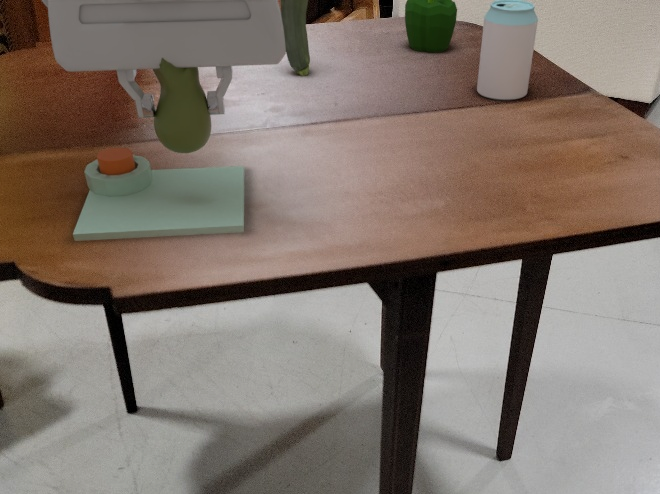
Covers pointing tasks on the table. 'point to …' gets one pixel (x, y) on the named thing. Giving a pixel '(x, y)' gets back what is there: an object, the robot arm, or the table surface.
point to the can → (507, 49)
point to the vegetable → (296, 34)
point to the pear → (181, 109)
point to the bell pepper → (430, 24)
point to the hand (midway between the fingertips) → (183, 114)
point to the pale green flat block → (161, 202)
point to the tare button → (116, 161)
